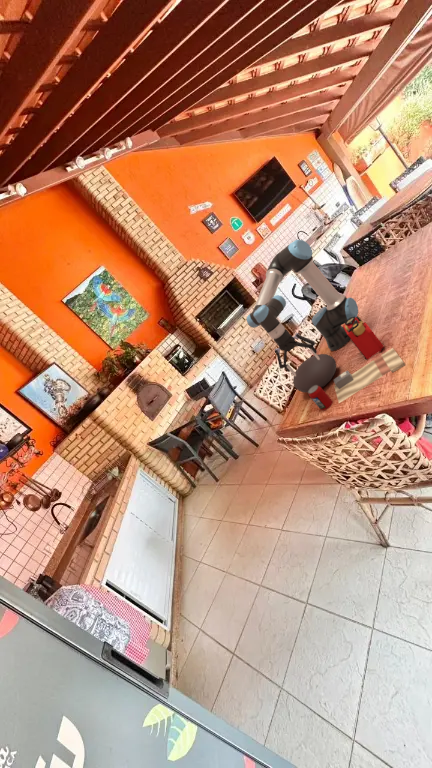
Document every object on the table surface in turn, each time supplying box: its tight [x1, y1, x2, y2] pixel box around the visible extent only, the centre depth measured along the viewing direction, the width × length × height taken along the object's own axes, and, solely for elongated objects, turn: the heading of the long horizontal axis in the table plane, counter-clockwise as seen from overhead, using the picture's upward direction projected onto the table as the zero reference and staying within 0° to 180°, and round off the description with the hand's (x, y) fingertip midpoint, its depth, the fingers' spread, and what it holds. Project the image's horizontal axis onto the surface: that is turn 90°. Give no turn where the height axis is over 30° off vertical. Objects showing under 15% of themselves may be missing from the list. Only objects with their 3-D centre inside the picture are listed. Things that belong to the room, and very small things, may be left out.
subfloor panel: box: [333, 347, 406, 404], centre depth 177 cm, size 18×32×1 cm, turn 77°
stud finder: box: [333, 369, 354, 389], centre depth 185 cm, size 5×8×4 cm, turn 77°
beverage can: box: [307, 385, 334, 411], centre depth 180 cm, size 7×7×12 cm
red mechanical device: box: [342, 315, 385, 361], centre depth 190 cm, size 16×10×20 cm, turn 168°
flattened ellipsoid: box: [292, 353, 337, 393], centre depth 203 cm, size 25×25×15 cm
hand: (307, 367), depth 185 cm, fingers open, 13 cm apart
